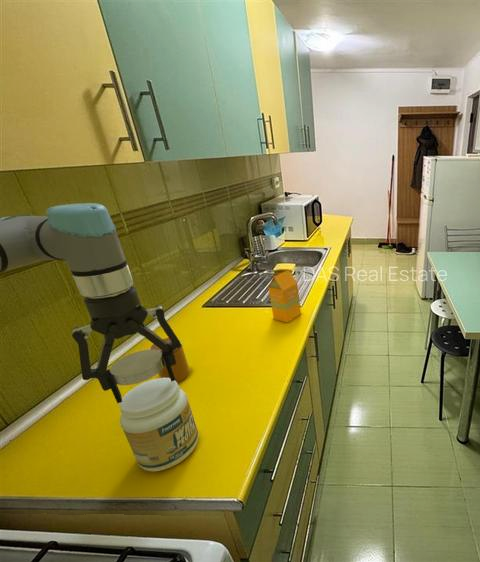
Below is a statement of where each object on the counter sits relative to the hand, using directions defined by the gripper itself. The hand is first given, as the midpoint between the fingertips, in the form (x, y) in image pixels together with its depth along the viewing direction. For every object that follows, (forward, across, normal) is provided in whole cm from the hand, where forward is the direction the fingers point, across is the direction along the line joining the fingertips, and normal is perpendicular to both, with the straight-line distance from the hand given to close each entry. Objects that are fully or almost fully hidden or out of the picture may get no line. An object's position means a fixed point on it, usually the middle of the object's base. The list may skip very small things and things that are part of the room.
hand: (146, 387), depth 64 cm
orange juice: (+19, -50, -40) cm, 67 cm away
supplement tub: (+19, 0, 0) cm, 19 cm away
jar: (+18, -6, -29) cm, 35 cm away
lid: (-6, 0, 0) cm, 6 cm away
